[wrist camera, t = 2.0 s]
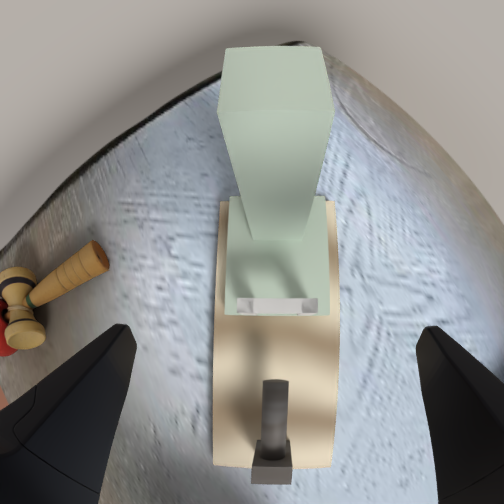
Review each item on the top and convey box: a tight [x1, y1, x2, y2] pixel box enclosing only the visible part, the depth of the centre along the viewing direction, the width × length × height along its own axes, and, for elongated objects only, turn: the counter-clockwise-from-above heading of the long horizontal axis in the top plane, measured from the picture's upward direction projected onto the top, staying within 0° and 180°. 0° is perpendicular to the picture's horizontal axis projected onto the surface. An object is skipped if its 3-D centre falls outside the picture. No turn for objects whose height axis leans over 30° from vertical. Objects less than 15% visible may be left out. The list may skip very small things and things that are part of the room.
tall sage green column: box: [217, 46, 335, 316], centre depth 14 cm, size 8×7×14 cm
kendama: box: [0, 240, 109, 356], centre depth 21 cm, size 8×6×18 cm
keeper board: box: [213, 201, 340, 484], centre depth 18 cm, size 21×9×6 cm, turn 179°
